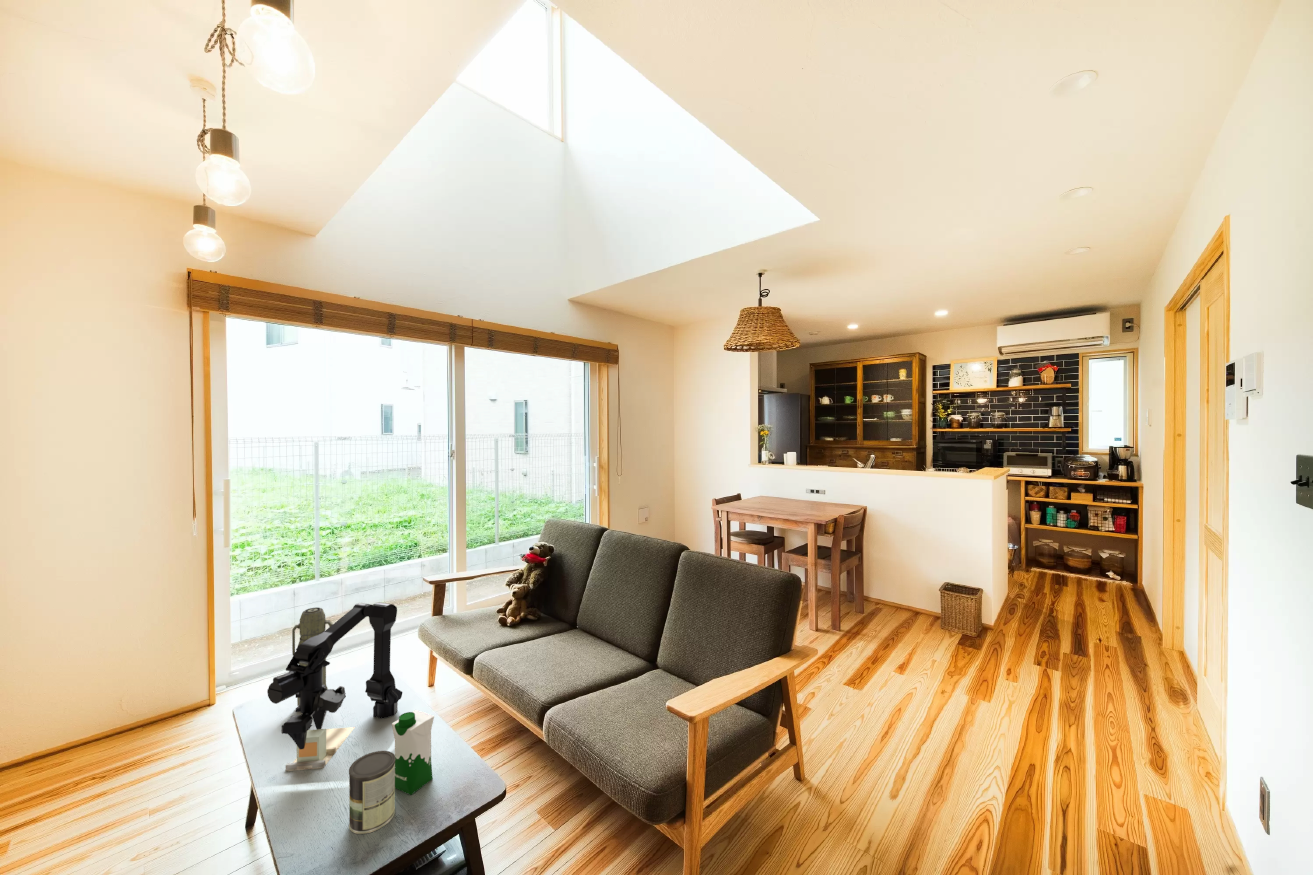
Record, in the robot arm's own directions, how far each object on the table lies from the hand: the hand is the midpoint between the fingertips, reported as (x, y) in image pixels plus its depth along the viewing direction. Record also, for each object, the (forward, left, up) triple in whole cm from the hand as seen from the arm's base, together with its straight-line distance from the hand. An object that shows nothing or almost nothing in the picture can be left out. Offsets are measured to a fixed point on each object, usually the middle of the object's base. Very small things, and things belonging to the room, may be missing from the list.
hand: (310, 738), depth 146 cm
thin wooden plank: (0, -6, -8) cm, 10 cm away
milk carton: (-32, +12, -8) cm, 35 cm away
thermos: (+16, -33, -8) cm, 38 cm away
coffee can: (-26, +23, -8) cm, 36 cm away
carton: (0, 0, -6) cm, 7 cm away
